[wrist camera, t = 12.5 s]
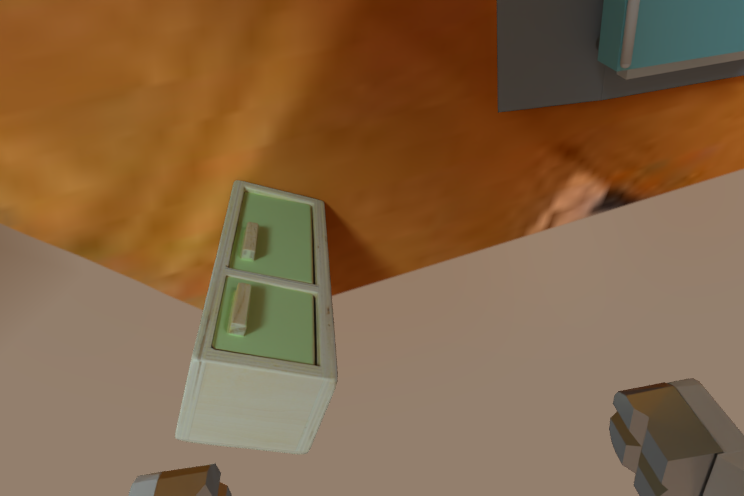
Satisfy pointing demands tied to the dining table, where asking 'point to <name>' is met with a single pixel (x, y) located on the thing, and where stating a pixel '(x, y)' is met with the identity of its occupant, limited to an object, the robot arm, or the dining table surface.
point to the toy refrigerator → (264, 328)
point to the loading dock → (578, 58)
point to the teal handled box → (668, 31)
